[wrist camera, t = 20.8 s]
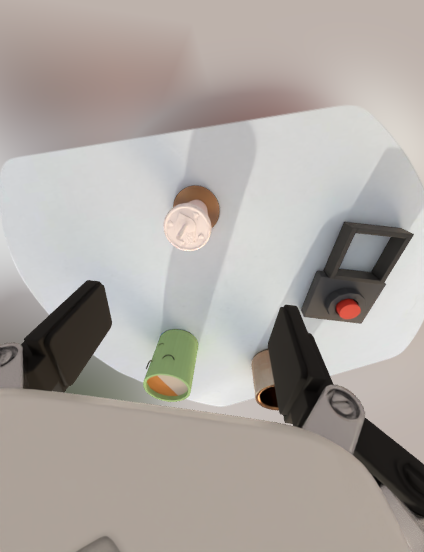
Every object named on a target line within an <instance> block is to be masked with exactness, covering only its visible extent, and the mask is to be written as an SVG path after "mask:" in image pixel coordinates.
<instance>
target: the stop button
mask: <svg viewBox="0 0 424 552" xmlns="http://www.w3.org/2000/svg"><path fill="white" fill-rule="evenodd" d="M336 311H337V312H338V314H339V315H340V317H341V318H343V319H352V318H355V317H356V316H358V315H359V314H360V311H361V309H360V307H359V306H358V304H357V303H356V302H355V301H354V300H353V299H344V300H341V301H340V302H339V303H337V305H336Z"/></svg>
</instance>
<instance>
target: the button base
mask: <svg viewBox="0 0 424 552" xmlns="http://www.w3.org/2000/svg"><path fill="white" fill-rule="evenodd" d="M385 285H386V284H385V283H384V284H383V285H381V284H372V283H364V282H355V281H346V280H338V279H330V278H329V277H328V276H327V274H326V273H325V272H323V271H317V272H316V274H315V277H314V279H313V282H312V284H311V287H310V289H309V292H308V294H307V297H306V299H305V302H304V304H303V307H302V309H301V311H302V313H303V316H304V317H310V318H318V319H327V320H335V321H344V322H352V323H362V322H363V320H364V318H365V317H366V315H367V314H368V312H369V311H370V309H371V307H372V306H373V304H374V303H375V301H376V299H377V298H378V296H379V295H380V293H381V291H382V290H383V288H384V287H385ZM344 299H353V300H354V301H355V302H356V303H357V304H358V306H359V307H360V309H361V311H360V314H359V315H358V316H356V317H355V318H352V319H343V318H341V317H340V315H339V314H338V312H337V311H336V305H337V303H339V302H340V301H341V300H344Z"/></svg>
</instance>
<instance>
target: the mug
mask: <svg viewBox="0 0 424 552" xmlns="http://www.w3.org/2000/svg"><path fill="white" fill-rule="evenodd" d="M197 350H198V342H197V340H196V338H195V337H194V336H193V335H192V334H190V333H188V332H186V331H183V330H178V329H173V330H168V331H166V332H164V333H163V334H162V335H161V336H160V339H159V342H158V344H157V347H156V350H155V352H154V355H153V358H152V360H150V361H151V363H150V366H149V368H148V371H147V374H146V377H145V379H144V382H143V387H144V389H145V391H146V392H147V393H148V394H149V395H151V396H152V397H154V398H156V399H159V400H163V401H168V402H177V401H181V400H184V399H186V398H187V397H188V396H189V395H190V392H191V386H192V380H193V374H194V368H195V362H196V356H197ZM150 361H149V362H150ZM149 362H148V365H149ZM148 365H147V367H148ZM147 367H146V369H147Z"/></svg>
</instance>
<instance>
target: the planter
mask: <svg viewBox="0 0 424 552" xmlns="http://www.w3.org/2000/svg"><path fill="white" fill-rule="evenodd" d="M252 373H253V381H254V390H255V399H256V401H257V403H258V404H259V405H261V406H262V407H264V408H267V409H271V410H279V408H278V402H277V397H276V391H275V385H274V379H273V374H272V368H271V362H270V357H269V351H268V350H265V351H262V352H260V353H258V354H257V355H256V356H255V357H254V358H253V360H252Z"/></svg>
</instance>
